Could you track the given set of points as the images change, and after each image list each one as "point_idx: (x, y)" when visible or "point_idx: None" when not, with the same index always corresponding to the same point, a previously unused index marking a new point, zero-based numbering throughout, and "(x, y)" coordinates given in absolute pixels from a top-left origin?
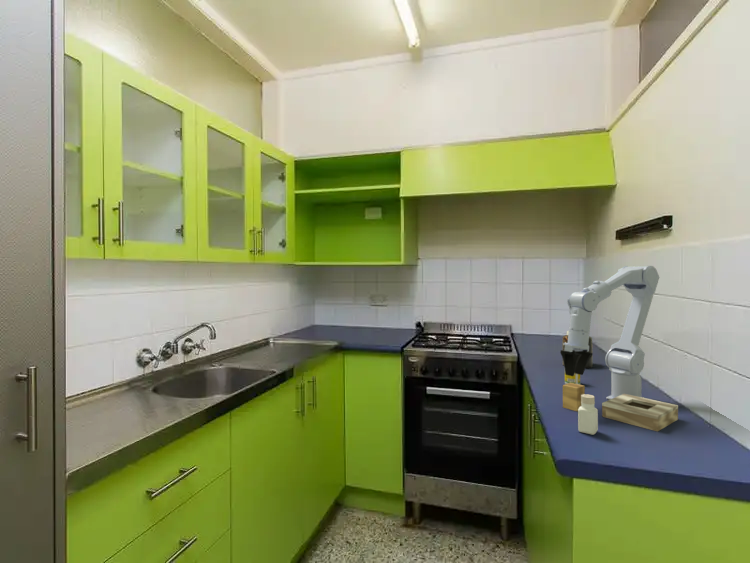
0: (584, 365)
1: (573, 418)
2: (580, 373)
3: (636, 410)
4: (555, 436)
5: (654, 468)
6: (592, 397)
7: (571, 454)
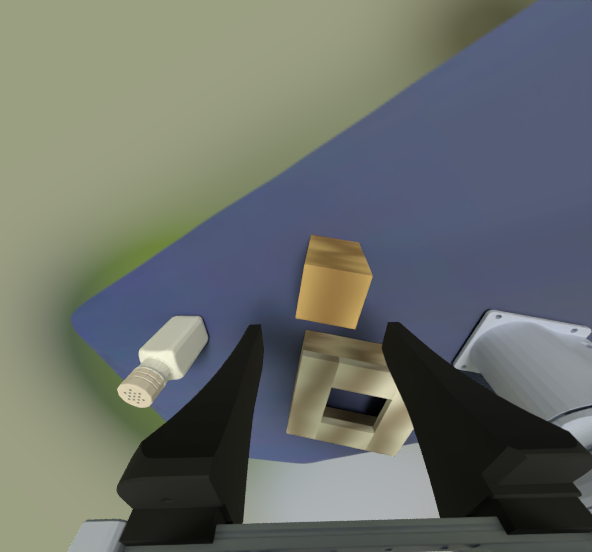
0: (404, 402)
1: (243, 285)
2: (384, 347)
3: (297, 409)
4: (116, 289)
5: None
6: (134, 405)
7: (84, 329)
